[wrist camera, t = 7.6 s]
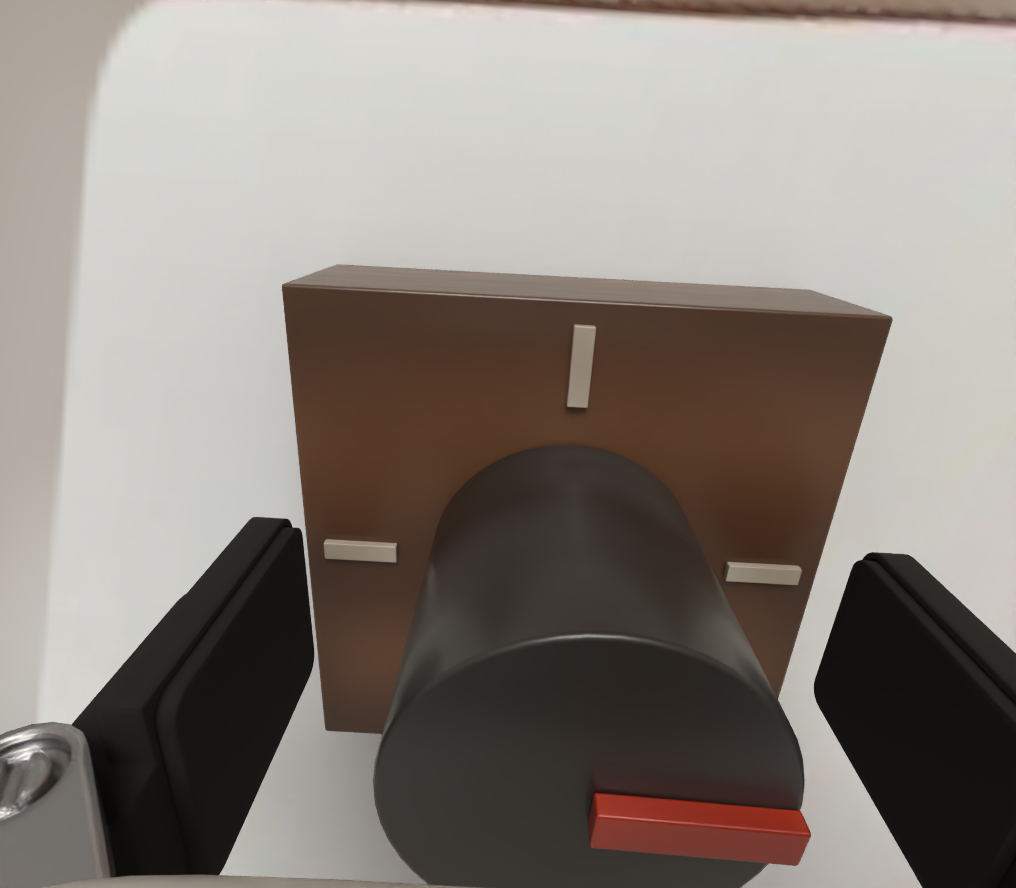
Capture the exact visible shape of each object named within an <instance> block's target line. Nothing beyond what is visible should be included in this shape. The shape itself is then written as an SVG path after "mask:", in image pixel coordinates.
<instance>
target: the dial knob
mask: <svg viewBox="0 0 1016 888" xmlns="http://www.w3.org/2000/svg"><path fill="white" fill-rule="evenodd" d="M373 787H374V798H375V805H376V809H377V812H378V816H379V819H380V823H381V825H382V827H383V830H384V832H385V834H386V836H387V838H388V840H389V842H390V843H391V845H392V846H393V848H394V849H395V851H396V852H397V853H398V855H399V856H400V858H401V859H402V860H403V861H404V862H405V863H406V864H407V865H408V866H409V868H410V869H411V870H412V871H413V872H414V873H415V874H416V875H418V876H419V877H420V878H421V879H422V880H424V881H425V882H426V883H427V884H428V885H442V886H460V887H478V888H741V887H742V886H744V885H745V884H746V883H748V882H749V881H750V880H751V879H753V878H754V877H755V876H756V875H758V874H759V873H760V872H761V871H762V870H763V869H764V868H765V867H766V866H767V865H768V864H769V863H770V864H782V865H793V866H796V865H798V864H799V862H800V860H801V857H802V855H803V853H804V851H805V848H806V846H807V844H808V842H809V839H810V837H811V833H810V830H809V828H808V826H807V824H806V822H805V819H804V817H803V815H802V813H801V812H800V809H801V806H802V800H803V792H804V767H803V758H802V754H801V751H800V747H799V743H798V740H797V738H796V735H795V733H794V731H793V729H792V727H791V725H790V723H789V721H788V719H787V717H786V715H785V713H784V711H783V709H782V707H781V705H780V703H779V701H778V699H777V697H776V695H775V693H774V691H773V689H772V687H771V685H770V683H769V681H768V679H767V677H766V675H765V673H764V671H763V669H762V667H761V665H760V663H759V661H758V659H757V657H756V655H755V653H754V651H753V649H752V647H751V646H750V644H749V642H748V640H747V638H746V636H745V634H744V632H743V630H742V628H741V626H740V624H739V622H738V620H737V618H736V616H735V614H734V612H733V610H732V608H731V606H730V604H729V602H728V600H727V598H726V596H725V594H724V592H723V590H722V588H721V586H720V584H719V582H718V580H717V578H716V576H715V574H714V572H713V570H712V568H711V566H710V564H709V562H708V560H707V558H706V556H705V554H704V552H703V550H702V548H701V546H700V544H699V542H698V540H697V538H696V536H695V534H694V532H693V530H692V528H691V526H690V524H689V522H688V520H687V518H686V516H685V514H684V512H683V510H682V508H681V506H680V504H679V503H678V502H677V500H676V499H675V497H674V496H673V494H672V493H671V491H670V490H669V489H668V488H667V487H666V486H665V485H664V484H663V483H662V482H661V481H660V480H659V479H658V478H657V477H656V476H654V475H653V474H652V473H651V472H649V471H648V470H647V469H645V468H644V467H642V466H640V465H639V464H637V463H635V462H634V461H632V460H630V459H628V458H625V457H623V456H621V455H618V454H616V453H613V452H609V451H606V450H602V449H599V448H594V447H587V446H581V445H551V446H541V447H536V448H532V449H527V450H523V451H520V452H517V453H514V454H511V455H508V456H506V457H504V458H502V459H500V460H498V461H496V462H494V463H492V464H490V465H488V466H487V467H485V468H484V469H482V470H481V471H479V472H478V473H476V474H475V475H474V476H473V477H472V478H471V479H469V480H468V481H467V482H466V483H465V484H464V485H463V486H462V487H461V488H460V489H459V491H458V492H457V493H456V494H455V495H454V496H453V498H452V499H451V501H450V502H449V504H448V505H447V507H446V508H445V510H444V512H443V515H442V517H441V519H440V521H439V523H438V527H437V530H436V534H435V537H434V541H433V545H432V549H431V552H430V556H429V560H428V564H427V567H426V571H425V575H424V579H423V583H422V586H421V590H420V594H419V598H418V601H417V605H416V609H415V613H414V617H413V620H412V624H411V628H410V632H409V635H408V639H407V643H406V647H405V650H404V654H403V658H402V662H401V666H400V669H399V673H398V677H397V681H396V684H395V688H394V692H393V696H392V700H391V703H390V707H389V711H388V715H387V718H386V722H385V726H384V730H383V734H382V737H381V741H380V745H379V749H378V752H377V756H376V760H375V767H374V777H373Z"/></svg>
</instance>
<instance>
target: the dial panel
mask: <svg viewBox="0 0 1016 888" xmlns="http://www.w3.org/2000/svg"><path fill="white" fill-rule="evenodd" d="M282 292H283V302H284V312H285V322H286V333H287V343H288V353H289V363H290V373H291V384H292V394H293V404H294V414H295V424H296V435H297V445H298V455H299V465H300V475H301V485H302V496H303V506H304V516H305V526H306V536H307V547H308V557H309V567H310V577H311V587H312V598H313V608H314V618H315V628H316V638H317V649H318V659H319V669H320V679H321V689H322V700H323V710H324V720H325V729H326V730H327V731H340V732H358V733H375V734H383V730H384V726H385V722H386V718H387V715H388V711H389V707H390V703H391V700H392V696H393V692H394V688H395V684H396V681H397V677H398V673H399V669H400V666H401V662H402V658H403V654H404V650H405V647H406V643H407V639H408V635H409V632H410V628H411V624H412V620H413V617H414V613H415V609H416V605H417V601H418V598H419V594H420V590H421V586H422V583H423V579H424V575H425V571H426V567H427V564H428V560H429V556H430V552H431V549H432V545H433V541H434V537H435V534H436V530H437V527H438V523H439V521H440V519H441V517H442V515H443V512H444V510H445V508H446V507H447V505H448V504H449V502H450V501H451V499H452V498H453V496H454V495H455V494H456V493H457V492H458V491H459V489H460V488H461V487H462V486H463V485H464V484H465V483H466V482H467V481H468V480H469V479H471V478H472V477H473V476H474V475H475V474H476V473H478V472H479V471H481V470H482V469H484V468H485V467H487V466H488V465H490V464H492V463H494V462H496V461H498V460H500V459H502V458H504V457H506V456H508V455H511V454H514V453H517V452H520V451H523V450H527V449H532V448H536V447H541V446H551V445H581V446H587V447H594V448H599V449H602V450H606V451H609V452H613V453H616V454H618V455H621V456H623V457H625V458H628V459H630V460H632V461H634V462H635V463H637V464H639V465H640V466H642V467H644V468H645V469H647V470H648V471H649V472H651V473H652V474H653V475H654V476H656V477H657V478H658V479H659V480H660V481H661V482H662V483H663V484H664V485H665V486H666V487H667V488H668V489H669V490H670V491H671V493H672V494H673V496H674V497H675V499H676V500H677V502H678V503H679V504H680V506H681V508H682V510H683V512H684V514H685V516H686V518H687V520H688V522H689V524H690V526H691V528H692V530H693V532H694V534H695V536H696V538H697V540H698V542H699V544H700V546H701V548H702V550H703V552H704V554H705V556H706V558H707V560H708V562H709V564H710V566H711V568H712V570H713V572H714V574H715V576H716V578H717V580H718V582H719V584H720V586H721V588H722V590H723V592H724V594H725V596H726V598H727V600H728V602H729V604H730V606H731V608H732V610H733V612H734V614H735V616H736V618H737V620H738V622H739V624H740V626H741V628H742V630H743V632H744V634H745V636H746V638H747V640H748V642H749V644H750V646H751V647H752V649H753V651H754V653H755V655H756V657H757V659H758V661H759V663H760V665H761V667H762V669H763V671H764V673H765V675H766V677H767V679H768V681H769V683H770V685H771V687H772V689H773V691H774V693H775V695H776V697H777V699H778V697H779V694H780V691H781V687H782V684H783V681H784V677H785V674H786V671H787V667H788V664H789V661H790V658H791V654H792V651H793V648H794V644H795V641H796V638H797V634H798V631H799V628H800V624H801V621H802V618H803V615H804V611H805V608H806V605H807V601H808V598H809V595H810V591H811V588H812V585H813V581H814V578H815V575H816V572H817V568H818V565H819V562H820V558H821V555H822V552H823V548H824V545H825V542H826V538H827V535H828V532H829V529H830V525H831V522H832V519H833V515H834V512H835V509H836V505H837V502H838V499H839V495H840V492H841V489H842V485H843V482H844V479H845V476H846V472H847V469H848V466H849V462H850V459H851V456H852V452H853V449H854V446H855V442H856V439H857V436H858V433H859V429H860V426H861V423H862V419H863V416H864V413H865V409H866V406H867V403H868V399H869V396H870V393H871V390H872V386H873V383H874V380H875V376H876V373H877V370H878V366H879V363H880V360H881V356H882V353H883V350H884V347H885V343H886V340H887V337H888V333H889V330H890V327H891V323H892V317H891V316H888V315H885V314H882V313H879V312H876V311H873V310H870V309H867V308H864V307H861V306H858V305H855V304H852V303H849V302H846V301H842V300H839V299H836V298H833V297H830V296H827V295H824V294H821V293H818V292H815V291H812V290H801V289H782V288H763V287H745V286H726V285H708V284H689V283H670V282H652V281H633V280H615V279H596V278H577V277H559V276H540V275H522V274H503V273H484V272H466V271H447V270H429V269H410V268H391V267H373V266H354V265H335V266H332V267H329V268H326V269H323V270H321V271H318V272H315V273H312V274H310V275H307V276H304V277H301V278H299V279H296V280H293V281H290V282H287V283H285V284H283V285H282Z"/></svg>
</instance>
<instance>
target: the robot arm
mask: <svg viewBox="0 0 1016 888" xmlns="http://www.w3.org/2000/svg"><path fill="white" fill-rule="evenodd" d="M313 662H314V644H313V634H312V624H311V615H310V605H309V595H308V585H307V575H306V566H305V556H304V546H303V536H302V532H301V530H300V529H299V528H292V524H291V522H290V521H289V520H288V519H281V518H263V517H253V518H251V519H250V520H249V521H248V522H247V523H246V525H245V526H244V527H243V528H242V529H241V531H240V532H239V533H238V534H237V535H236V536H235V538H234V539H233V540H232V541H231V542H230V543H229V545H228V546H227V547H226V548H225V549H224V551H223V552H222V553H221V554H220V555H219V556H218V558H217V559H216V560H215V561H214V562H213V563H212V565H211V566H210V567H209V568H208V569H207V570H206V572H205V573H204V574H203V575H202V576H201V578H200V579H199V580H198V581H197V582H196V583H195V585H194V586H193V587H192V588H191V589H190V590H189V592H188V593H187V594H185V595H184V596H183V597H182V598H180V599H179V600H178V601H177V602H176V604H175V605H174V606H173V607H172V608H171V609H170V611H169V612H168V613H167V614H166V615H165V616H164V618H163V619H162V620H161V621H160V622H159V623H158V625H157V626H156V627H155V628H154V629H153V630H152V631H151V633H150V634H149V635H148V636H147V637H146V638H145V640H144V641H143V642H142V643H141V644H140V645H139V647H138V648H137V649H136V650H135V651H134V652H133V654H132V655H131V656H130V657H129V658H128V659H127V661H126V662H125V663H124V664H123V665H122V666H121V668H120V669H119V670H118V671H117V672H116V673H115V675H114V676H113V677H112V678H111V679H110V680H109V682H108V683H107V684H106V685H105V686H104V687H103V689H102V690H101V691H100V692H99V693H98V694H97V696H96V697H95V698H94V699H93V700H92V701H91V703H90V704H89V705H88V706H87V707H86V708H85V710H84V711H83V712H82V713H81V714H80V715H79V717H78V718H77V719H76V720H75V721H74V722H73V724H72V725H70V724H63V723H56V722H49V723H40V724H31V725H28V726H25V727H21V728H18V729H15V730H11V731H9V732H6V733H4V734H2V735H0V888H478V887H460V886H442V885H424V884H406V883H388V882H370V881H352V880H333V879H306V878H278V877H251V876H223V875H219V874H220V873H221V871H222V869H223V867H224V865H225V863H226V861H227V859H228V857H229V855H230V852H231V850H232V848H233V846H234V843H235V841H236V839H237V837H238V835H239V832H240V830H241V828H242V826H243V823H244V821H245V819H246V817H247V815H248V812H249V810H250V808H251V806H252V803H253V801H254V799H255V797H256V795H257V792H258V790H259V788H260V786H261V783H262V781H263V779H264V777H265V774H266V772H267V770H268V768H269V766H270V763H271V761H272V759H273V757H274V754H275V752H276V750H277V748H278V746H279V743H280V741H281V739H282V737H283V734H284V732H285V730H286V728H287V726H288V723H289V721H290V719H291V717H292V714H293V712H294V710H295V708H296V706H297V703H298V701H299V699H300V697H301V694H302V692H303V690H304V688H305V686H306V683H307V681H308V679H309V677H310V674H311V671H312V668H313ZM814 694H815V698H816V702H817V704H818V706H819V708H820V710H821V711H822V713H823V715H824V717H825V718H826V720H827V722H828V724H829V725H830V727H831V729H832V731H833V732H834V734H835V736H836V737H837V739H838V741H839V743H840V744H841V746H842V748H843V750H844V751H845V753H846V755H847V757H848V758H849V760H850V762H851V764H852V765H853V767H854V769H855V771H856V772H857V774H858V776H859V778H860V779H861V781H862V783H863V785H864V786H865V788H866V790H867V792H868V793H869V795H870V797H871V799H872V800H873V802H874V804H875V806H876V807H877V809H878V811H879V813H880V814H881V816H882V818H883V820H884V821H885V823H886V825H887V827H888V828H889V830H890V832H891V833H892V835H893V837H894V839H895V840H896V842H897V844H898V846H899V847H900V849H901V851H902V853H903V854H904V856H905V858H906V860H907V861H908V863H909V865H910V867H911V868H912V870H913V872H914V874H915V875H916V877H917V879H918V881H919V882H920V884H921V886H922V888H1016V653H1015V652H1014V651H1012V650H1011V649H1010V648H1009V647H1008V646H1007V645H1006V644H1005V643H1004V642H1003V641H1002V640H1001V639H1000V638H999V637H997V636H996V635H995V634H994V633H993V632H992V631H991V630H990V629H989V628H988V627H987V626H986V625H985V624H984V623H983V622H981V621H980V620H979V619H978V618H977V617H976V616H975V615H974V614H973V613H972V612H971V611H970V610H969V609H968V608H966V607H965V606H964V605H963V604H962V603H961V602H960V601H959V600H958V599H957V598H956V597H955V596H954V595H953V594H952V593H950V592H949V591H948V590H947V589H946V588H945V587H944V586H943V585H942V584H941V583H940V582H939V581H938V580H937V579H935V578H934V577H933V576H932V575H931V574H930V573H929V572H928V571H927V570H926V569H925V568H924V567H923V566H922V565H921V564H919V563H918V562H917V561H916V560H915V559H914V558H913V557H911V556H910V555H905V554H892V553H874V552H872V553H869V554H867V555H866V556H865V557H864V558H863V560H860V561H857V562H856V563H855V564H854V565H853V567H852V570H851V573H850V576H849V579H848V582H847V585H846V588H845V591H844V594H843V597H842V600H841V603H840V606H839V609H838V612H837V615H836V618H835V621H834V624H833V627H832V630H831V633H830V636H829V639H828V642H827V645H826V648H825V651H824V654H823V657H822V660H821V663H820V666H819V669H818V672H817V675H816V678H815V682H814Z"/></svg>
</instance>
